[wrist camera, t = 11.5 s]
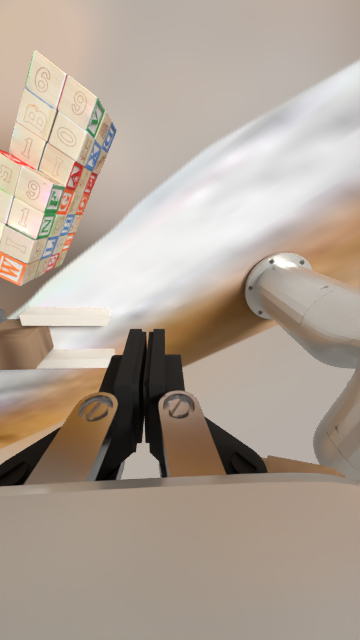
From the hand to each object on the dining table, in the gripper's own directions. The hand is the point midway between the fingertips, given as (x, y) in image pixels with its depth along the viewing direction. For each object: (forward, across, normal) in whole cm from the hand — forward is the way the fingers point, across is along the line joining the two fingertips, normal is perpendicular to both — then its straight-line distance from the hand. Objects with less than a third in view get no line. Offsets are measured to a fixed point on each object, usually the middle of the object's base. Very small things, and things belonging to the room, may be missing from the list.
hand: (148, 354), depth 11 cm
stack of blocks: (+29, +14, -9) cm, 34 cm away
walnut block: (+29, +24, +15) cm, 41 cm away
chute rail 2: (+29, +16, +19) cm, 39 cm away
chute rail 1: (+29, +16, +10) cm, 35 cm away
